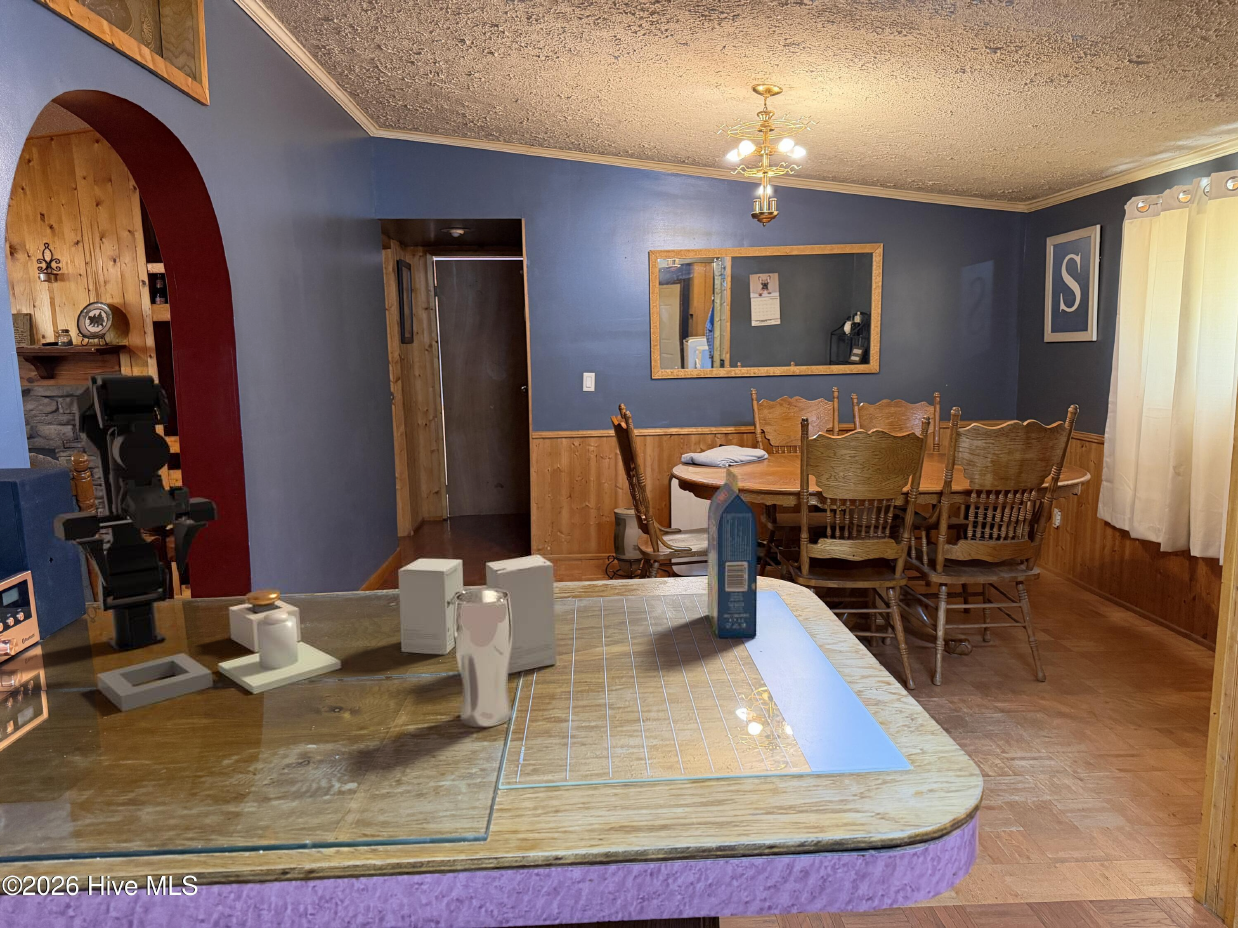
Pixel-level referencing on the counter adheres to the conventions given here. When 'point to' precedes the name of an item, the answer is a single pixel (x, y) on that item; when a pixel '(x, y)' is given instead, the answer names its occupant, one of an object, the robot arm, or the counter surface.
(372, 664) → the counter surface
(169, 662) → the socket
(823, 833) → the counter surface
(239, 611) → the plunger housing
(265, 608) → the plunger
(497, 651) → the beer glass
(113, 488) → the robot arm
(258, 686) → the dock pad
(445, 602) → the supplement box
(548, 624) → the skincare box
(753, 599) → the blue food package
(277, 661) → the cylinder
